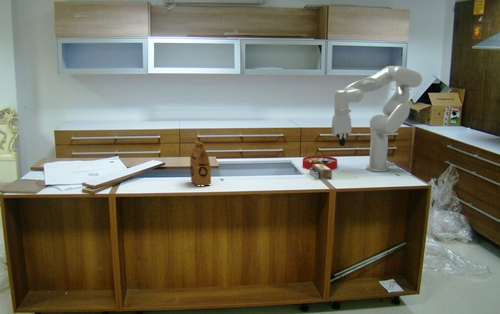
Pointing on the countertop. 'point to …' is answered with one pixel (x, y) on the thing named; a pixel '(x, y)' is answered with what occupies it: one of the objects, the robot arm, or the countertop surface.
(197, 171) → the coffee package
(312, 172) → the screw rail
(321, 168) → the brown rectangular block
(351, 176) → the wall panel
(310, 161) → the toy clock
